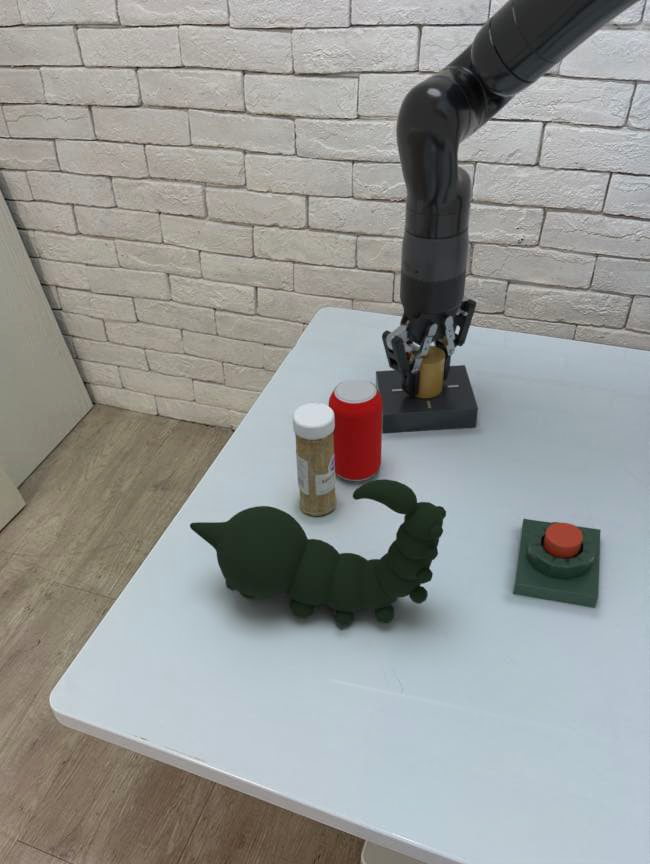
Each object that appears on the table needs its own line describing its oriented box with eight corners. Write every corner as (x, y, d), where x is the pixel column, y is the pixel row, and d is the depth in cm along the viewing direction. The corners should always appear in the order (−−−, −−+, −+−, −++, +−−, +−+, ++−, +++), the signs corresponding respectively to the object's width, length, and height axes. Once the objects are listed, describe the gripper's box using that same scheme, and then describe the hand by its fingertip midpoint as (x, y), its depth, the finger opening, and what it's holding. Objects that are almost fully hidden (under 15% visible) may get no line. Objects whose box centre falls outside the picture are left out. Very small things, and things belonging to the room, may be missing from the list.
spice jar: (336, 517, 94) (334, 425, 85) (297, 517, 95) (291, 426, 86) (336, 491, 98) (334, 400, 88) (299, 491, 98) (293, 401, 89)
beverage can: (379, 486, 97) (381, 405, 89) (328, 485, 99) (325, 405, 90) (381, 454, 102) (383, 374, 93) (332, 453, 103) (330, 374, 94)
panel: (462, 383, 111) (465, 363, 108) (475, 427, 104) (478, 407, 101) (375, 389, 112) (375, 370, 109) (382, 433, 105) (383, 413, 102)
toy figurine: (425, 593, 87) (207, 547, 92) (457, 460, 73) (199, 415, 78) (413, 662, 81) (180, 609, 86) (445, 531, 67) (165, 477, 72)
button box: (521, 529, 90) (525, 506, 88) (597, 540, 88) (604, 517, 85) (512, 594, 84) (517, 572, 81) (594, 608, 81) (602, 585, 79)
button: (544, 531, 85) (547, 519, 84) (580, 537, 84) (583, 525, 83) (542, 555, 83) (544, 543, 82) (579, 561, 82) (582, 549, 80)
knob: (425, 375, 108) (428, 339, 104) (449, 389, 105) (452, 352, 101) (401, 388, 106) (402, 352, 102) (424, 402, 103) (427, 366, 100)
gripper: (410, 296, 88) (404, 420, 101) (501, 252, 93) (485, 376, 105) (365, 273, 93) (364, 395, 105) (455, 232, 98) (444, 353, 110)
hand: (425, 384), depth 105 cm, fingers closed on knob, 4 cm apart
